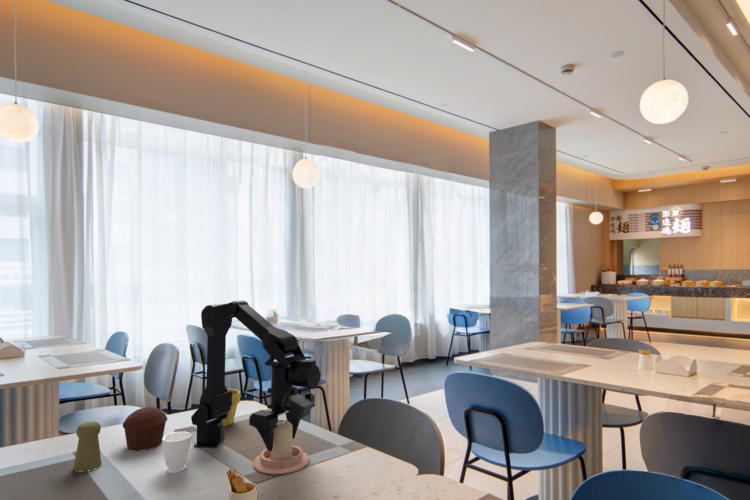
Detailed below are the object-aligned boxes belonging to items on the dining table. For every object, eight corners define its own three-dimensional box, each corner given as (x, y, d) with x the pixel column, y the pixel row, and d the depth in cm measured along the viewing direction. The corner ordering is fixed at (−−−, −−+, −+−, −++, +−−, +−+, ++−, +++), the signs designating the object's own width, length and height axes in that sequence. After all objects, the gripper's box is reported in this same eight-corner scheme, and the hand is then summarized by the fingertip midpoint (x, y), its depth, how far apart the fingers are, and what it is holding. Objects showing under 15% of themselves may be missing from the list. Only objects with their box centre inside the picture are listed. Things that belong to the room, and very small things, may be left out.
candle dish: (245, 473, 109) (245, 463, 109) (263, 450, 123) (263, 441, 123) (302, 475, 108) (302, 465, 108) (313, 451, 122) (313, 442, 122)
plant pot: (246, 420, 148) (246, 390, 149) (225, 430, 138) (225, 398, 139) (220, 416, 152) (221, 387, 152) (198, 426, 142) (199, 395, 143)
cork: (107, 463, 114) (108, 420, 115) (85, 474, 109) (86, 428, 109) (89, 460, 116) (91, 417, 117) (67, 470, 111) (68, 425, 111)
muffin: (143, 455, 120) (143, 417, 120) (111, 450, 123) (112, 413, 124) (175, 439, 131) (176, 405, 131) (146, 435, 135) (147, 401, 135)
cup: (154, 474, 109) (155, 440, 109) (179, 457, 119) (180, 426, 119) (180, 476, 108) (181, 442, 108) (203, 459, 117) (204, 427, 118)
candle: (294, 455, 118) (294, 417, 119) (288, 464, 113) (289, 424, 113) (274, 454, 119) (274, 416, 119) (267, 463, 113) (267, 423, 114)
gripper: (284, 396, 105) (283, 464, 104) (327, 379, 121) (327, 437, 121) (248, 390, 110) (247, 455, 109) (294, 374, 126) (293, 431, 126)
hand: (281, 444), depth 116 cm, fingers open, 9 cm apart
